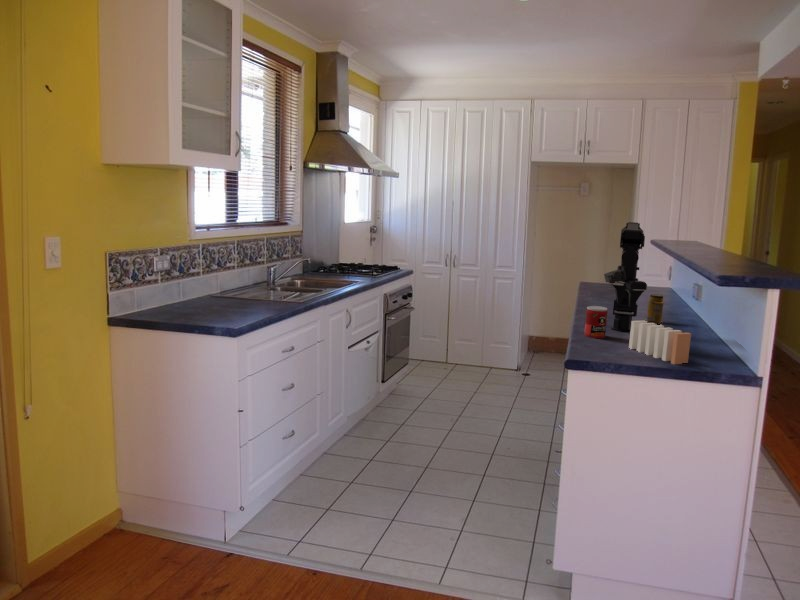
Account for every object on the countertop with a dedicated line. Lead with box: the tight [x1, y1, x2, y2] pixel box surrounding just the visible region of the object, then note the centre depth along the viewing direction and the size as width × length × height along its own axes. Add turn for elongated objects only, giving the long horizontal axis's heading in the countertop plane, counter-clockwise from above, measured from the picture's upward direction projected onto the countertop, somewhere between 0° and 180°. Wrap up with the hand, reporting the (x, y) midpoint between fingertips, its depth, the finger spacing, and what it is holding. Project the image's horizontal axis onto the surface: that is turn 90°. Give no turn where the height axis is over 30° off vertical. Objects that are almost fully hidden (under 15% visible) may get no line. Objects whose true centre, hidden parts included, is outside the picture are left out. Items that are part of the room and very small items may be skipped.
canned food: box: [584, 305, 609, 339], centre depth 251 cm, size 8×8×11 cm
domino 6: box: [670, 332, 692, 365], centre depth 214 cm, size 2×6×10 cm, turn 111°
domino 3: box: [644, 324, 665, 356], centre depth 225 cm, size 2×6×10 cm, turn 112°
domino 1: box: [628, 319, 647, 350], centre depth 232 cm, size 2×6×10 cm, turn 111°
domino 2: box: [636, 323, 657, 353], centre depth 229 cm, size 2×6×10 cm, turn 111°
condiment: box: [646, 294, 664, 326], centre depth 285 cm, size 7×8×12 cm
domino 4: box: [652, 327, 674, 359], centre depth 221 cm, size 2×6×10 cm, turn 112°
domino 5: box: [661, 329, 683, 362], centre depth 218 cm, size 2×6×10 cm, turn 111°
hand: (624, 305), depth 244 cm, fingers open, 9 cm apart
